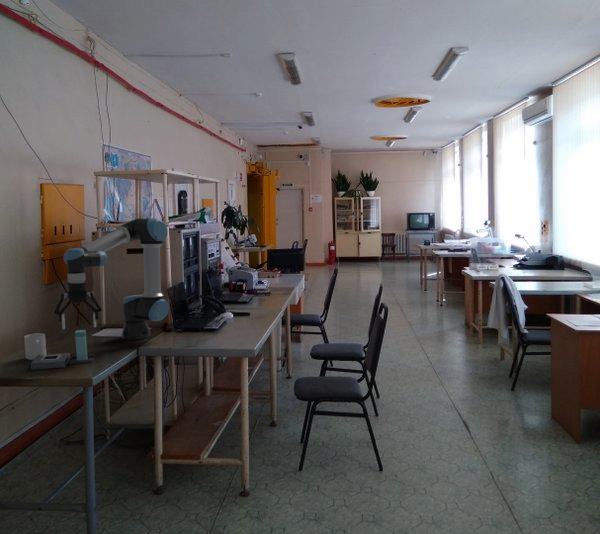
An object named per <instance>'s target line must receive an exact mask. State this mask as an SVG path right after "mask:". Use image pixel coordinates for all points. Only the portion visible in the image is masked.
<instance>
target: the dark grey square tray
mask: <svg viewBox="0 0 600 534" xmlns="http://www.w3.org/2000/svg"><path fill="white" fill-rule="evenodd" d="M87 357H88V359H87V360H77V355H72V356H71V359H70V360H69V362H68V365H79V364H91V363H93V362H94V360H95V357H96V354H94V353H92V354H87Z"/></svg>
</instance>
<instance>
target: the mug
mask: <svg viewBox="0 0 600 534" xmlns="http://www.w3.org/2000/svg"><path fill="white" fill-rule="evenodd" d="M23 338H24V349H25V358H26V359H27V360H29V361H33V360H34V359H35V358H36V357H37V356H38V355H46V354H47V346H46V345H47V343H46V334H45V333H42V332H39V333H38V332H36V333H30V334H27V335H24V337H23Z"/></svg>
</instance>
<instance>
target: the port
mask: <svg viewBox="0 0 600 534" xmlns="http://www.w3.org/2000/svg"><path fill="white" fill-rule="evenodd" d="M69 361H71V352H59V353H48V354H47V353H46V355H38V356H37V357H36V358H35V359H34V360H31V362H30V370H31V371H35V370H36V371H37V370H50V369H59V368H60V369H61V368H66V367H67V365H68V364H69Z"/></svg>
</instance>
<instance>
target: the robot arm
mask: <svg viewBox="0 0 600 534" xmlns="http://www.w3.org/2000/svg"><path fill="white" fill-rule="evenodd" d="M168 233H169V232H168V227H167V225H166V223H165V222H164V221H163V220H162V219H160V218H154V217H151V218H135V219H132V220H130V221H127V222H125V223H123V224H121V225H119V226H117V227H116V229H115V230H113V231H111V232H109V233H106V234H105V235H104V236H101V237H98V238H97V239H95V240H93V241H91V242H89V243H87V244H84V245H83V246H81V247H75V248H68V249H66V251H65V252H64V254H63V258H62V259H63V261H64V264H66V268H67V269H66V270H67V282H68V284H67V287H68V292H67V293H65V292H62V293H61V295H60V300H59V302H58V304H57V306H56V308H55V310H54V314H55V315H58V320H59V322H60V323H61V328H62V329H61V330H65V328H66V323H65V322H66V318H65V314H64V312H65V311H66V310H67V308H68V307H69V306H70V305H71V303H74V304H75V303H84V304H86V305H87V307H88V308H89V309H90V310H91V311H92V312H93V314H92V316H93V317H92V319H93V328H96V327H97V321H98V320H99V313H100V312H102V310H103V308H102V306H101V305H100V303H99V302H98V300H97V298H96V296H95V293H94V291H89V292H87V283H86V269H89V268H90V269H91V268H96V267H97V268H101V267H103V266H105V265H106V264H107V262H108V255H107V253H106V252H108V251H110V250H112V249H113V248H116V247H118V246H120V245H122V244H128V243H130V242H133V241H140V243H139V245H140V246H142V249H143V250H142V251H143V252H142V253H143V288H144V289H143V290H144V291H143V293H141V294H134V295H128V296H125V297H123V299H122V309H123V321H124V323H123V328H122V331H121V339H122V340H125V341H137V340H144V339H147V338H149V337H151V330H150V327H149V325H148V322H147V321H152V322H160V321H162V320H163V319H165V318H166V316H167V315H168V313H169V309H170V306H169V303H168V301H167V300H166V299H165V295H164V293H163V292H162V282H161V281H162V277H161V274H162V273H161V270H162V268H161V247H162V246H163V245H164V241H165V240H166V239H167V236H168ZM88 296H89V298H91V300H92V302H93V304H94V305H95V306H94V305H93V304H92V303H91V302H90V301H89V300H88V298H87V297H88ZM67 297H68V298H69V300H68V301H67V303H66V304H65V305H64V306H63V308H61V307H62V305H63V303H64V301H65V299H66V298H67Z"/></svg>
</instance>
